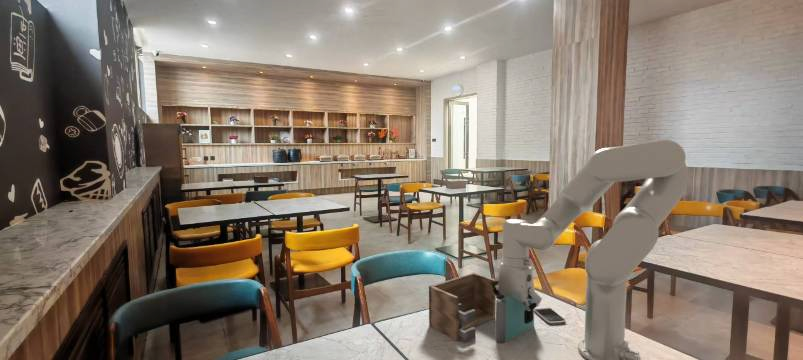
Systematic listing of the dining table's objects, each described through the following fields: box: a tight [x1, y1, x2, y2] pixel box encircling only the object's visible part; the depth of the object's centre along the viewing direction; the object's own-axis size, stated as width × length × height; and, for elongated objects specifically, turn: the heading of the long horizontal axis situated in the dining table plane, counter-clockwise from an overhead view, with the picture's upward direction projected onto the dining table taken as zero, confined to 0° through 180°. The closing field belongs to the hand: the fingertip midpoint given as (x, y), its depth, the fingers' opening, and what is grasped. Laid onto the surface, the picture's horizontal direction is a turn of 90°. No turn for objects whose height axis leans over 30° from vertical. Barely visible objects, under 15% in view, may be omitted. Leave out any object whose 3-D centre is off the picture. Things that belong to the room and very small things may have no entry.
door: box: [495, 289, 536, 344], centre depth 116 cm, size 3×16×12 cm, turn 127°
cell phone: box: [534, 307, 567, 326], centre depth 128 cm, size 6×11×1 cm, turn 8°
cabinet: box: [428, 272, 497, 343], centre depth 123 cm, size 14×21×13 cm
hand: (514, 316), depth 117 cm, fingers open, 9 cm apart
